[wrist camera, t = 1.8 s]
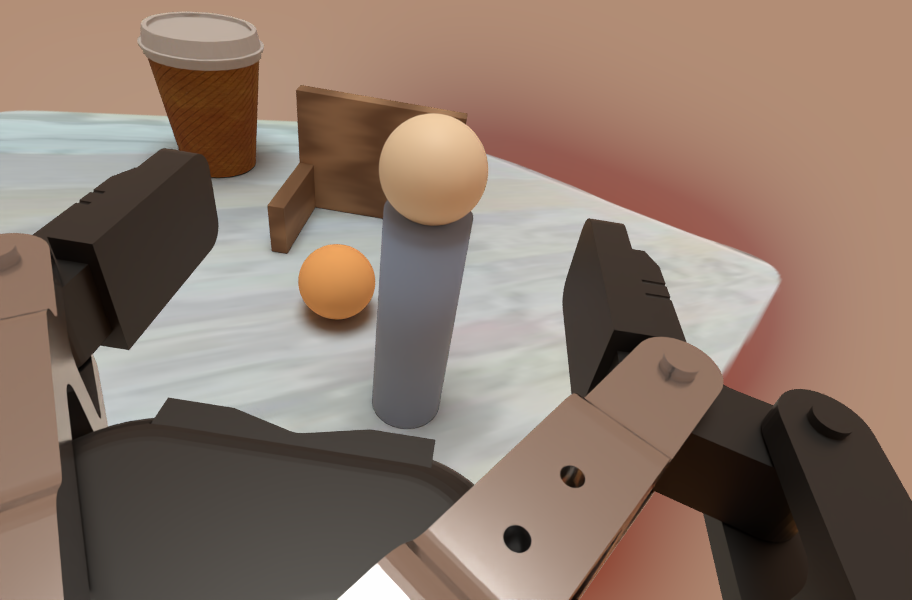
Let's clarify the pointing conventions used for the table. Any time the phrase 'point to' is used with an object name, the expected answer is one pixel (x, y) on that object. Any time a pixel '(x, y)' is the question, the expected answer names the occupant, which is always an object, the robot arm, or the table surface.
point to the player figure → (422, 260)
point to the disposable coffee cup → (207, 84)
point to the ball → (336, 281)
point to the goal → (337, 158)
